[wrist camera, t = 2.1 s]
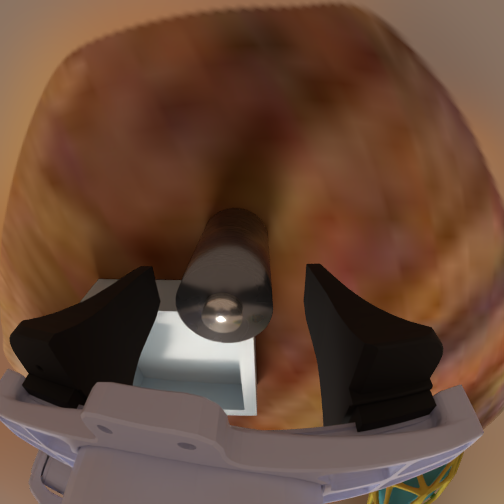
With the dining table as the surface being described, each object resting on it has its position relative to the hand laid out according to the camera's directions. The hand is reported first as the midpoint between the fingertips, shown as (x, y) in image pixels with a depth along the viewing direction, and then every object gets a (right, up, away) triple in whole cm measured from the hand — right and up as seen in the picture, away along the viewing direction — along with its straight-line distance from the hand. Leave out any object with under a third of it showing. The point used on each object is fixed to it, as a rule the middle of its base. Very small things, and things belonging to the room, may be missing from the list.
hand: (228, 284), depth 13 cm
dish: (-5, -6, +9) cm, 12 cm away
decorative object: (+30, -35, +23) cm, 52 cm away
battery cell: (0, +2, +5) cm, 5 cm away
